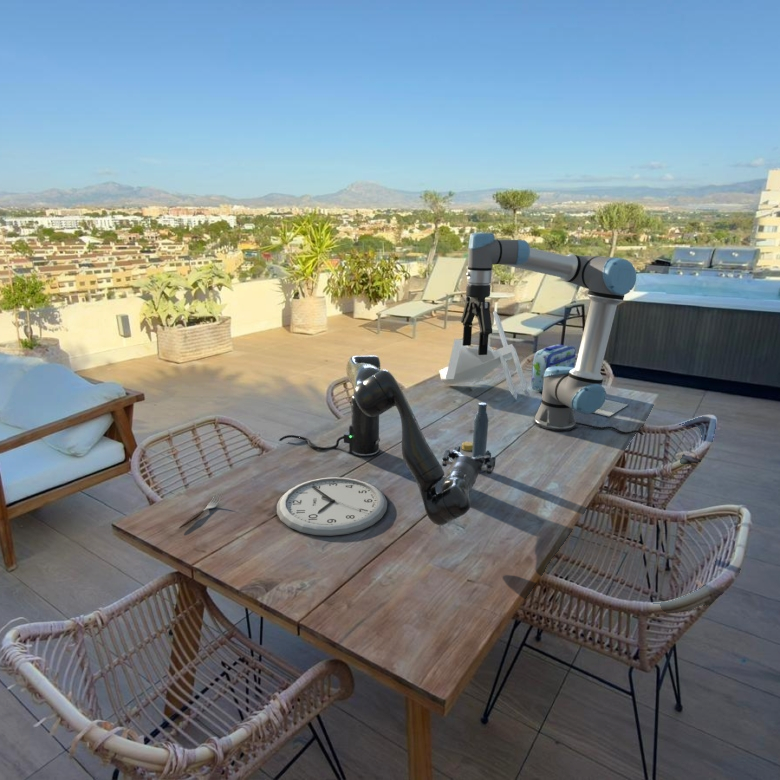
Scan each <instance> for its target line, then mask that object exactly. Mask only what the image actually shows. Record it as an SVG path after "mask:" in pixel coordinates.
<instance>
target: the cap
mask: <svg viewBox="0 0 780 780" xmlns="http://www.w3.org/2000/svg"><path fill="white" fill-rule="evenodd" d="M461 449H462V450H463V451H466V452H469V451H472V449H473V441H462V445H461Z"/></svg>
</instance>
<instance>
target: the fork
mask: <svg viewBox="0 0 780 780" xmlns="http://www.w3.org/2000/svg"><path fill="white" fill-rule="evenodd" d="M222 498H223V495H221V493H220V494H217V493H215V494H214V495H213V497H212V499H211V500H210V502H209V503H208V504H207V505H206V507H205V508H204V509H202V510H200V511H199V512H197V513H195V514H193V515H192V516H191V517H190V518H188V519H187V520H186V521H185V522H184V523H183V524H181V525H180V526H179V527H178V529H182V528H183V527H185V526H186V525H188V524H189V523H191V522H193V521H195V520H196V519H197V518H198V517H200V516H201V515H202V514H203V513H204V512H205V511H207V510H210V509H211V510H212V509H215V508H216V507H217V506H218V505H219V503H220V501H221V499H222Z"/></svg>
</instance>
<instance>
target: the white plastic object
mask: <svg viewBox="0 0 780 780" xmlns="http://www.w3.org/2000/svg"><path fill="white" fill-rule="evenodd" d="M492 315H493V319H494V321H495V324H496V325H495V326H496V328H497V332H498V335H499V338H500V342H501V345H502V347H500V348H498V349H496V350H495V349H493V348H492V347H491V346H490V344H489V343H488V348H487V355H478V348H479V344H478V345H473V346H463V338H460V339H458V338H454V340H453V344H452V349H451V353H450V357H449V362H448V366H446V367H444V368H442V369H440V370H439V371H438V372H439V376H440V381H442V383H443V384H444V385H445V386H449V385H458V384H467V383H468V384H469V383H473V384H477V383H480V382H482V381H484V378H485V377H486V376H487V375H489V374H490V373H492V372H494V371H495V370H496V369H497V368H499V367H500V366H502V370H503V373H504V376H505V380H506V383H507V386H508V390H509V393H510V394H511V395H512V397H513V398H514V399H515V400H517V392H516V391H517V390H516V388H515V385H514V381H513V378H512V375H511V371H510V369H509V365H508V361H510V360H513V363H514V366H515V369H516V372H517V376H518V380H519V382H520V385H521V389H522V391H523V393H524V395H525V396H526V397H528V396H531V395H530V390H529V388H528V387H529V386H528V384H527V381H526V378H525V375H524V371H523V369H522V368H523V367H522V366H521V362H520V359H519V355H518V352H517V349H516V347H515V346H514V345H513V343H511V344H508V341H507V337H506V334H505V331H504V328H503V325H502V321H501V318H500V315H499V314H498V312H497V311H496V310H495V311H492Z"/></svg>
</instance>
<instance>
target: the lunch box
mask: <svg viewBox="0 0 780 780" xmlns="http://www.w3.org/2000/svg"><path fill="white" fill-rule="evenodd" d="M576 357H577V355H576V347H575V346H569V345H565V344H554V345H550V346H547V347H544V348H542V349H541V348H540V349H539V350H537V351H536V352H535V353H534V356H533V360H532V367H531V368H532V369H531V382H530V383H531V386H530V387H531V389H532V390H533V391H537V392H541V393H542V392H543V382H544V374H545V370H546V369H547V368H549V367H556V366H563V367H573V368H575V365H576Z"/></svg>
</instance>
